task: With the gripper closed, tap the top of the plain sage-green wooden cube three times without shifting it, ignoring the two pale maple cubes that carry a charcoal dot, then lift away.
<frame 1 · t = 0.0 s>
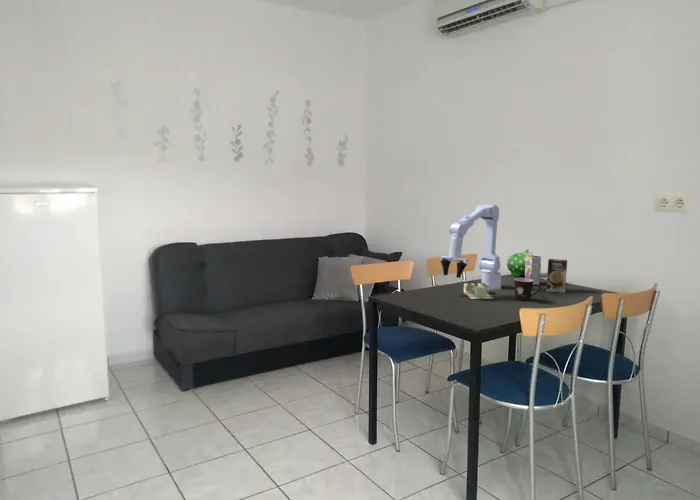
hand: (451, 276, 251), 11 cm above the table, tool pointing down, fingers open, 7 cm apart
coffee box: (555, 291, 269), on the table
coffee mug: (524, 301, 246), on the table
plain cube: (480, 296, 254), point 1 cm above the table, touching birch board
dotted cube a: (483, 293, 261), point 1 cm above the table, touching birch board
piggy bank: (522, 276, 308), on the table
dotted cube b: (469, 293, 260), point 1 cm above the table, touching birch board
candy bar box: (531, 284, 286), on the table
birch board: (478, 296, 257), on the table
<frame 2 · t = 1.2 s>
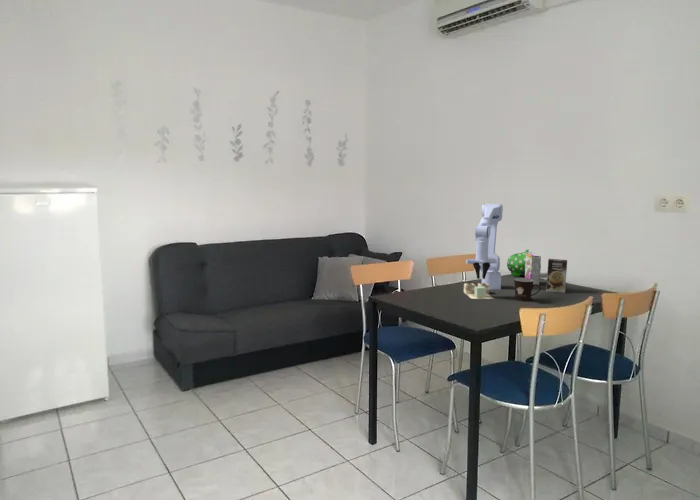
hand: (480, 278, 252), 9 cm above the table, tool pointing down, fingers closed
nothing on the table moved.
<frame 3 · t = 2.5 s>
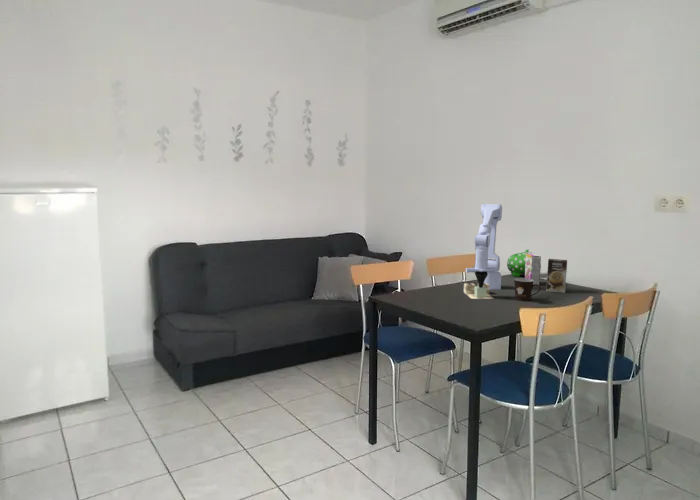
hand: (480, 287, 253), 5 cm above the table, tool pointing down, fingers closed
nothing on the table moved.
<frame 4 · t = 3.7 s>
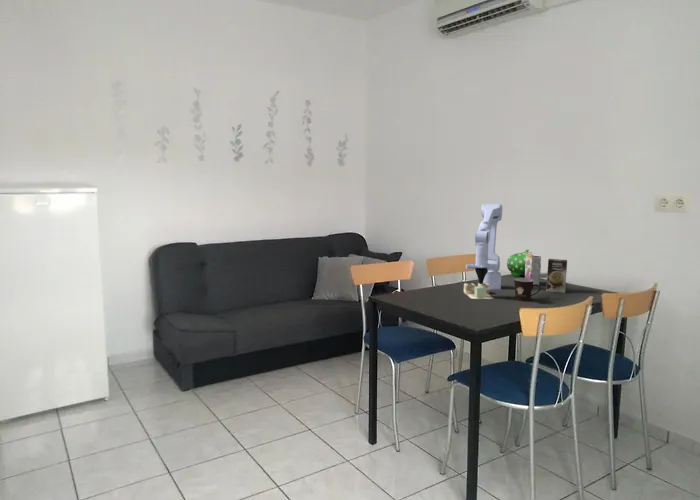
hand: (480, 283, 253), 7 cm above the table, tool pointing down, fingers closed
nothing on the table moved.
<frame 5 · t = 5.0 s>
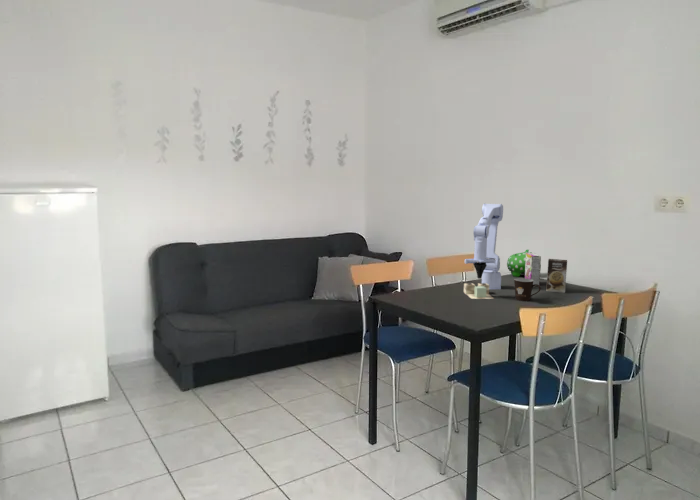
hand: (479, 278, 253), 9 cm above the table, tool pointing down, fingers closed
nothing on the table moved.
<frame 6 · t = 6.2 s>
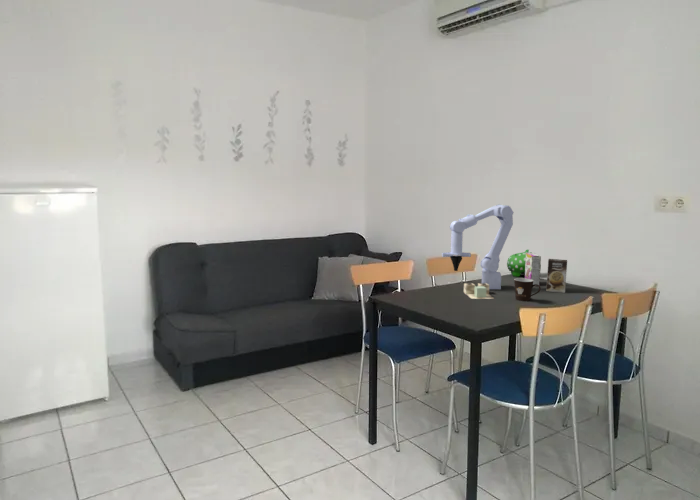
hand: (455, 270, 270), 10 cm above the table, tool pointing down, fingers closed
nothing on the table moved.
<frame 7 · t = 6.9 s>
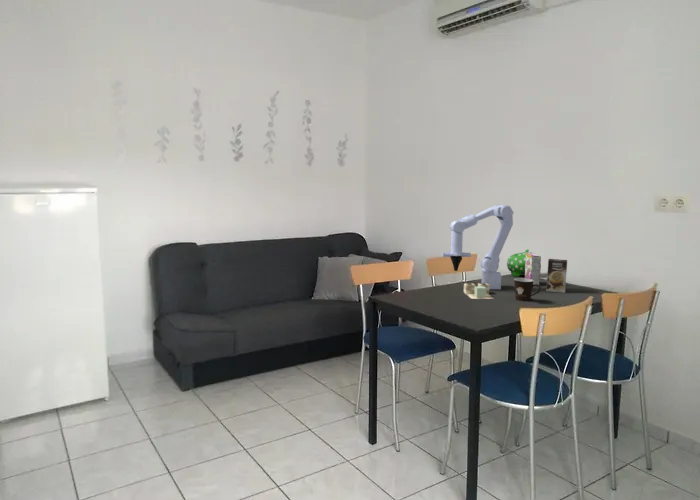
hand: (455, 270, 270), 10 cm above the table, tool pointing down, fingers closed
nothing on the table moved.
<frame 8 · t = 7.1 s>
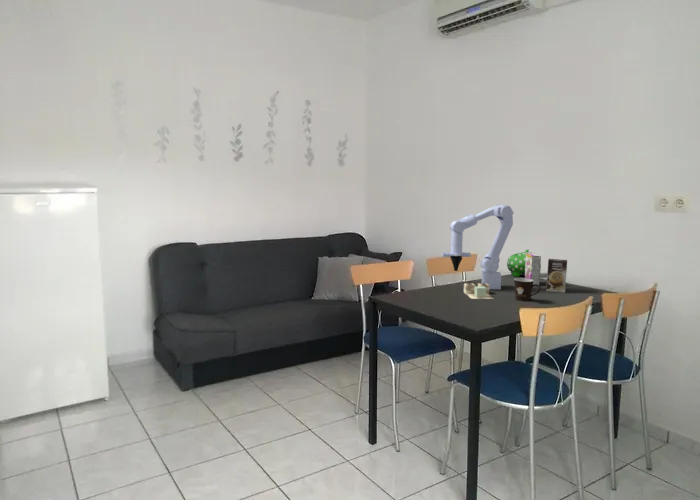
hand: (455, 270, 270), 10 cm above the table, tool pointing down, fingers closed
nothing on the table moved.
at the end: plain cube moved 0.0 cm from its start; plain cube tilted 0°; the gripper is holding nothing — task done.
